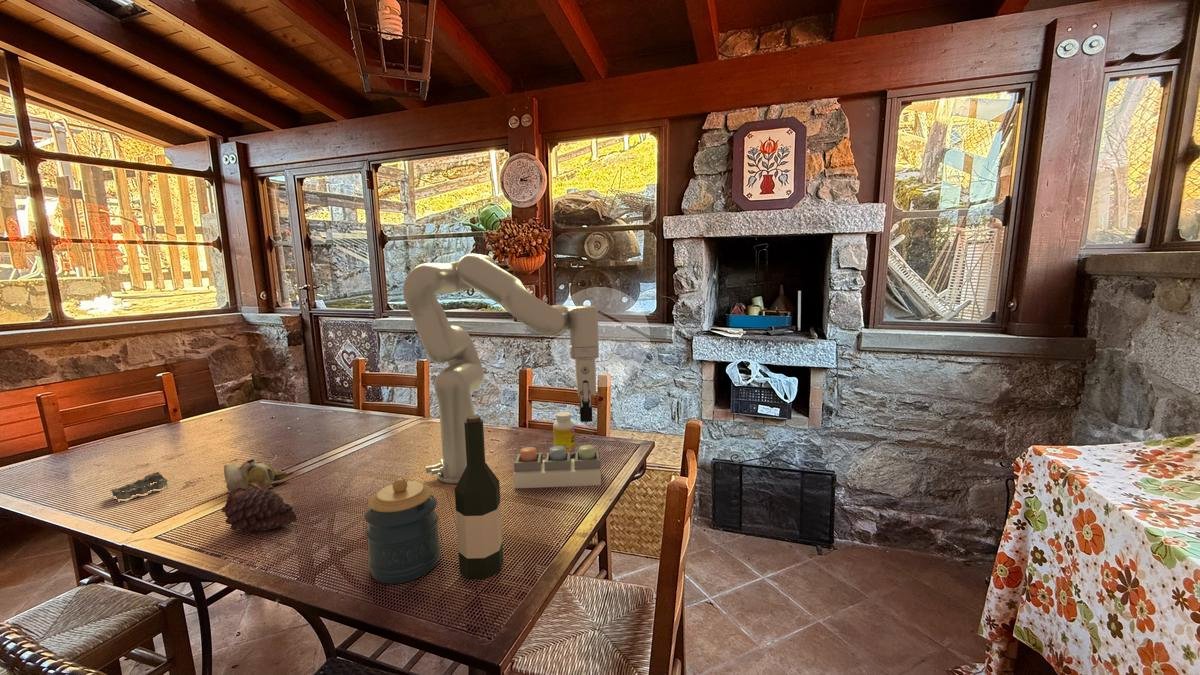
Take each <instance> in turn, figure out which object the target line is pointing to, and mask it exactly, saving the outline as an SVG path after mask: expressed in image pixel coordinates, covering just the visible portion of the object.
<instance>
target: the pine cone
mask: <svg viewBox="0 0 1200 675" xmlns="http://www.w3.org/2000/svg"><path fill="white" fill-rule="evenodd" d="M226 495H228V496H227V500H226V503H225V504H224V506H223V507H222V508H221V512H222V513H224V516H225V517H226V519H225V524H228V525H230V527H229V528H230V530H231V531H237V530H240V532H241V533H247V534H248V533H250V532H251V531H254V530H255V531H265V530H266V531H270V530H274V528H275V529H277V528H283V527H285V526H287V525H290V524H292V522H293V523H296V522H297V520H298V517H297V514H296V513H295V511H294V510H293V509H294V508H293V506H292V505H290V504H289V503H285V502H284V498H282V497H281V496H280V494H278V493H276V492H275V490H268V489H261V488H257V489H255V488H252V487H247V488H246V489H243V488H242V487H239V488H237V489H236V490H234V491H233V492H230V491H228V492H226Z"/></svg>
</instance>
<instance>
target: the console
mask: <svg viewBox="0 0 1200 675" xmlns="http://www.w3.org/2000/svg"><path fill="white" fill-rule="evenodd" d="M600 454H601V453H600V451H599V450H597V451H596V450H595V459H592V460H579V451H575V453H574V458H572V455H571V452H566V460H563V461H550V452H546V453H545V459H543V458H544V457H543V456H544V455H543V452H541V453H540V452H539V453H538V452H537V461H534V462H521V458H520V453H517V455H516V459H515V461H514V462H513V464H514V468H513V469H514V473H513V486H514V489H531V488H532V489H534V488H560V487H588V486H602V474H601V471H602V469H601V468H602V466H601V458H600V457H601V456H600Z"/></svg>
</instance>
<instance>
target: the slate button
mask: <svg viewBox="0 0 1200 675" xmlns="http://www.w3.org/2000/svg"><path fill="white" fill-rule="evenodd" d="M549 453H550V461H563V460H566V448H565V447H563V446H554V445H553V446H552V447H550V448H549Z"/></svg>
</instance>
